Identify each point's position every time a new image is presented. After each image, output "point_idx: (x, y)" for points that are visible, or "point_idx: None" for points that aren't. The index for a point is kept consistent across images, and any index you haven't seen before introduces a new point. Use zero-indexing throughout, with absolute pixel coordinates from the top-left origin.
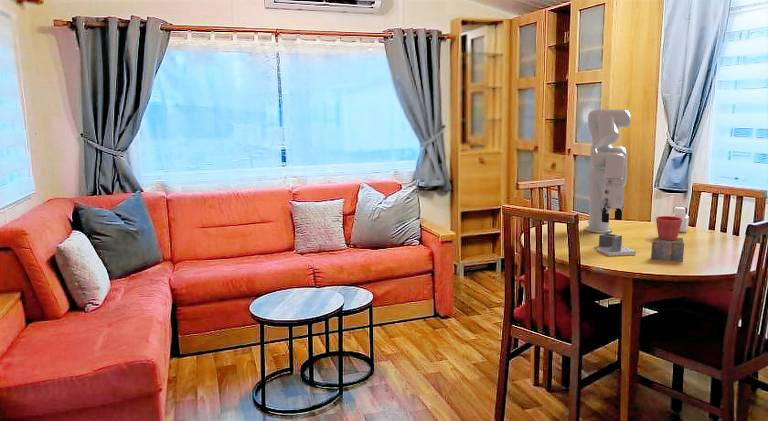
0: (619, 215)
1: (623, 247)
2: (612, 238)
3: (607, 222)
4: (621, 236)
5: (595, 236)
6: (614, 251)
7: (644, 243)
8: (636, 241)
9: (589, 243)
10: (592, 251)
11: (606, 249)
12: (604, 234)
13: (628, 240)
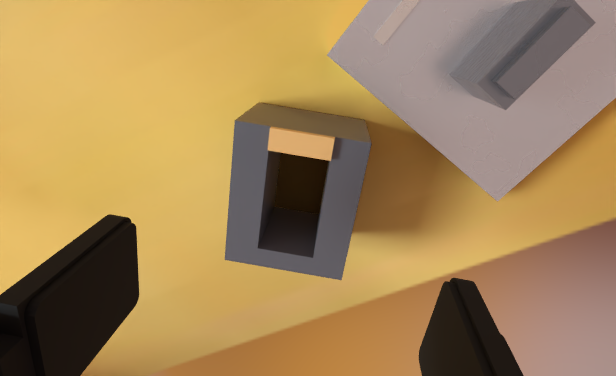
0: (92, 280)
1: (397, 25)
2: (368, 156)
3: (468, 286)
4: (245, 120)
5: None
6: (602, 23)
7: (7, 10)
8: (3, 90)
9: (308, 300)
10: (537, 202)
11: (550, 112)
12: (289, 258)
13: (25, 148)
